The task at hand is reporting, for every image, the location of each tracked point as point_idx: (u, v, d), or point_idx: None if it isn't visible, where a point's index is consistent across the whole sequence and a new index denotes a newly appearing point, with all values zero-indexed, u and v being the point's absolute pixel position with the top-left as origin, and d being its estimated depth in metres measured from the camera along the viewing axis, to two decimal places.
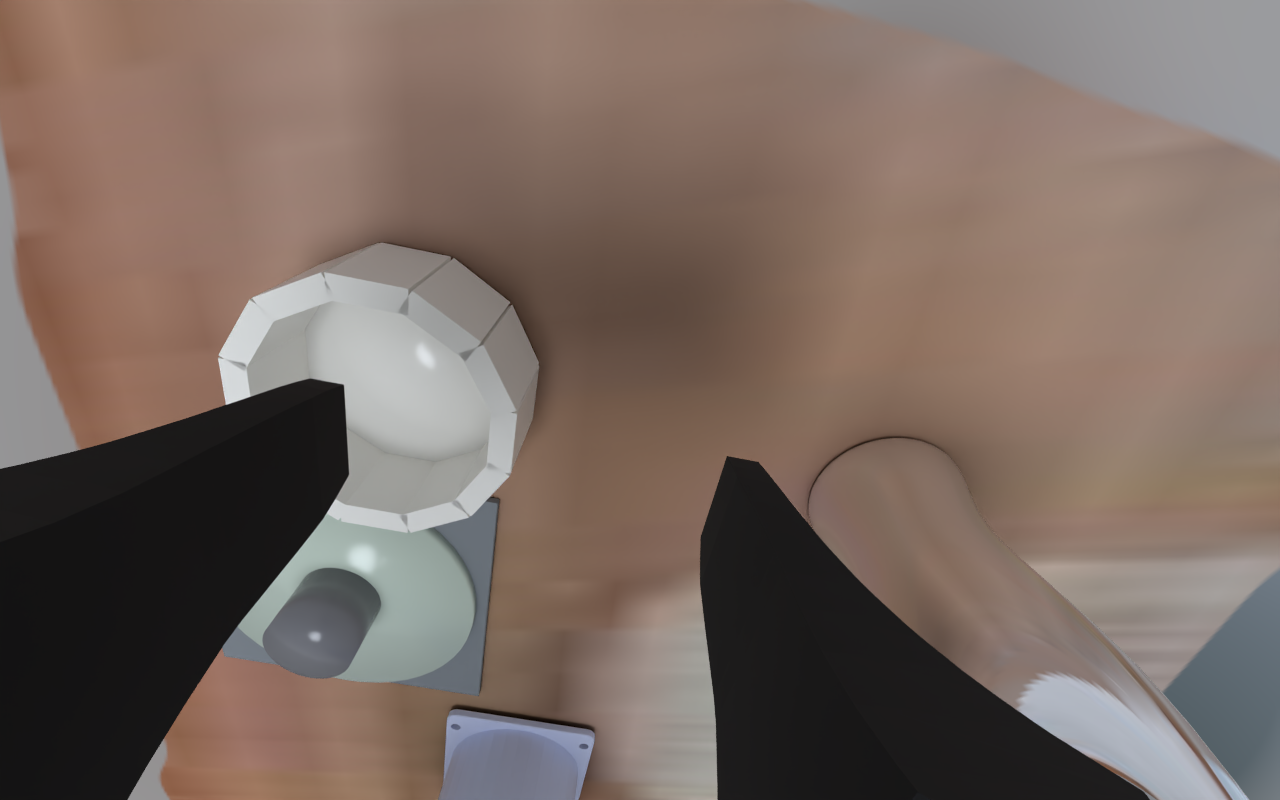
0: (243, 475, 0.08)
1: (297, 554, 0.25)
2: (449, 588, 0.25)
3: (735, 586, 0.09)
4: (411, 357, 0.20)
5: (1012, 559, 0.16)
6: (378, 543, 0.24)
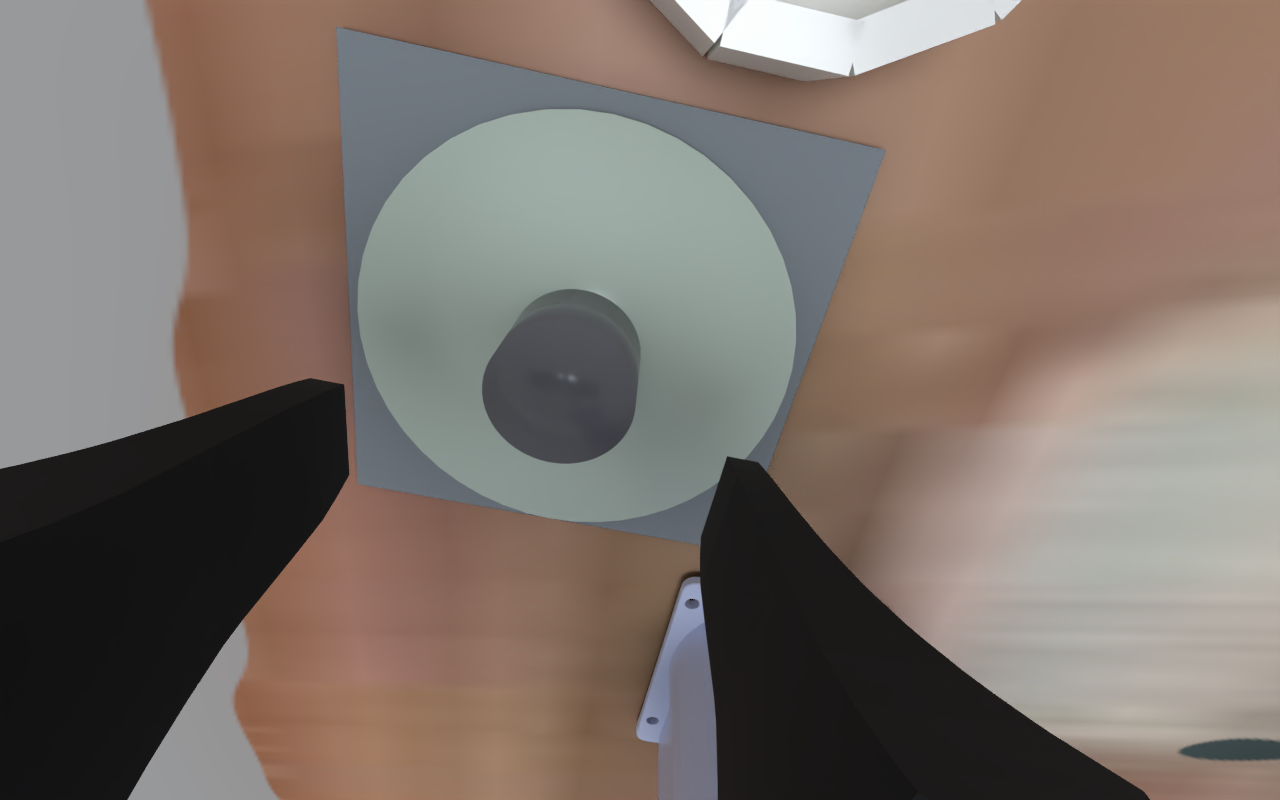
0: (243, 475, 0.08)
1: (520, 260, 0.15)
2: (764, 329, 0.15)
3: (735, 586, 0.09)
4: None
5: None
6: (666, 232, 0.14)
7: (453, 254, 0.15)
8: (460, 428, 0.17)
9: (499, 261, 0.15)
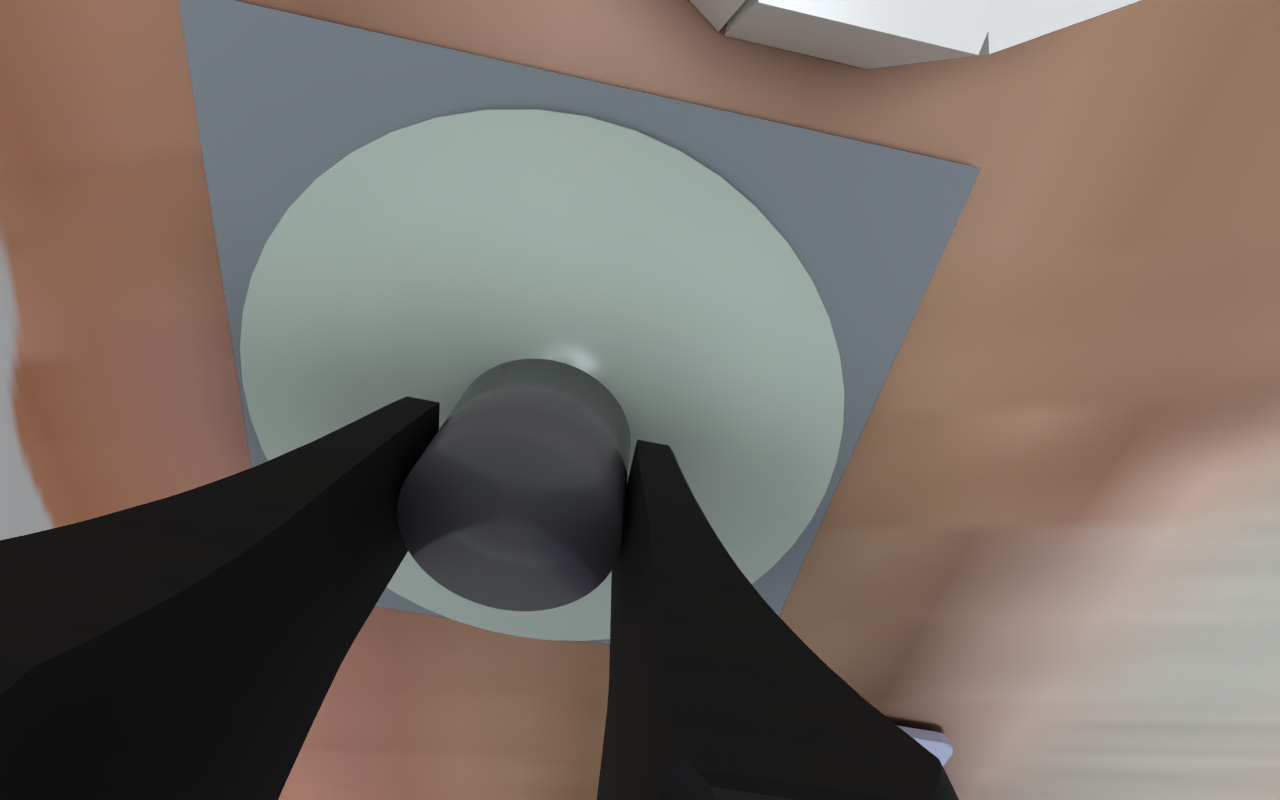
0: (366, 497, 0.08)
1: (461, 321, 0.10)
2: (800, 411, 0.11)
3: (628, 567, 0.09)
4: None
5: None
6: (665, 283, 0.10)
7: (367, 312, 0.10)
8: None
9: (432, 322, 0.10)
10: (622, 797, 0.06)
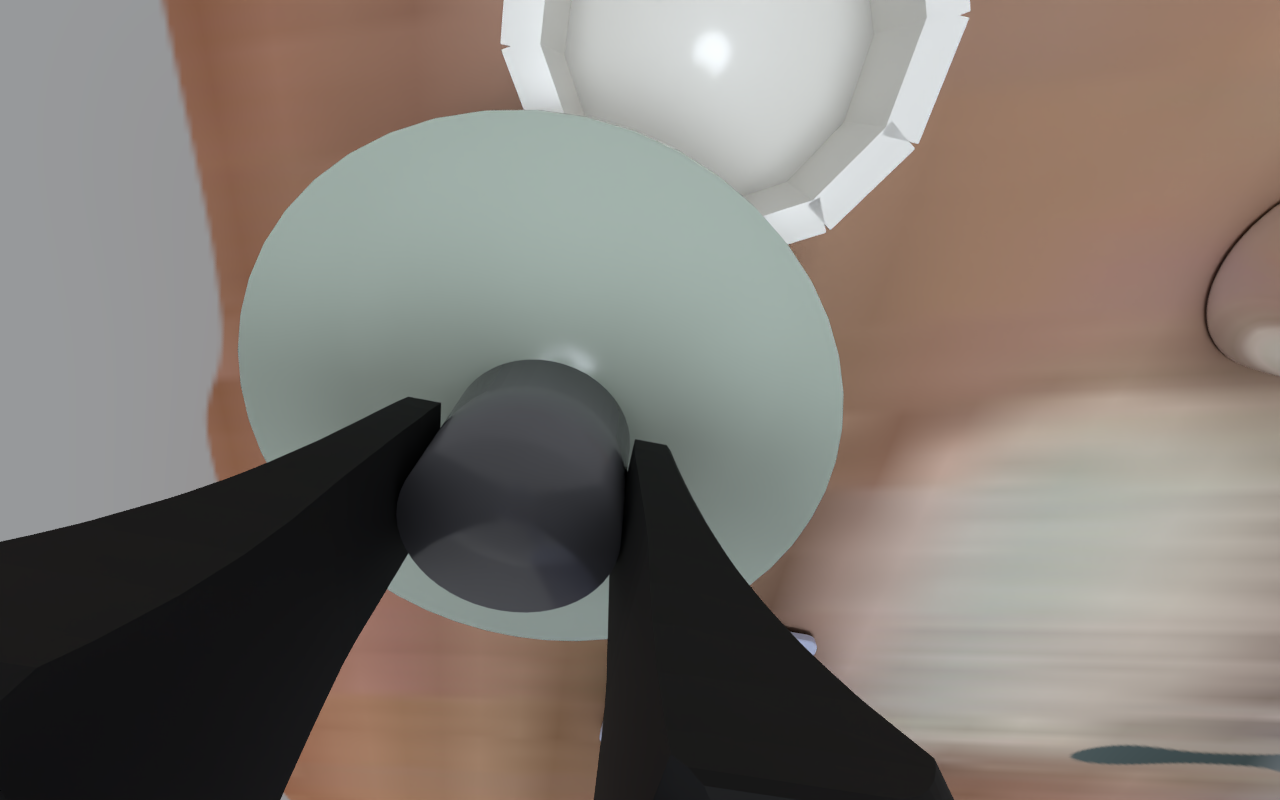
0: (368, 497, 0.08)
1: (460, 322, 0.10)
2: (799, 412, 0.11)
3: (625, 567, 0.09)
4: (725, 12, 0.14)
5: None
6: (664, 284, 0.10)
7: (366, 313, 0.10)
8: None
9: (431, 323, 0.10)
10: (618, 797, 0.06)
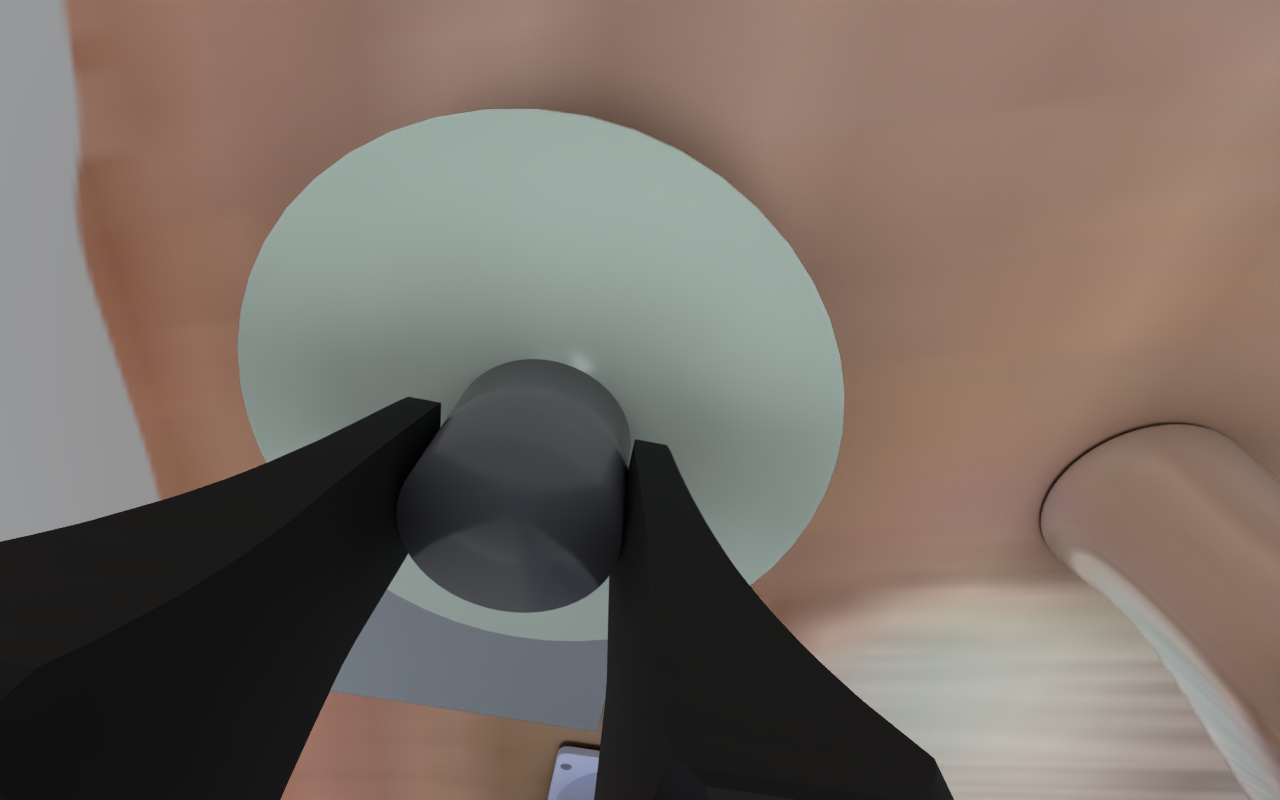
0: (368, 497, 0.08)
1: (460, 321, 0.10)
2: (800, 412, 0.11)
3: (625, 567, 0.09)
4: None
5: None
6: (665, 283, 0.10)
7: (366, 313, 0.10)
8: None
9: (431, 322, 0.10)
10: (618, 796, 0.06)
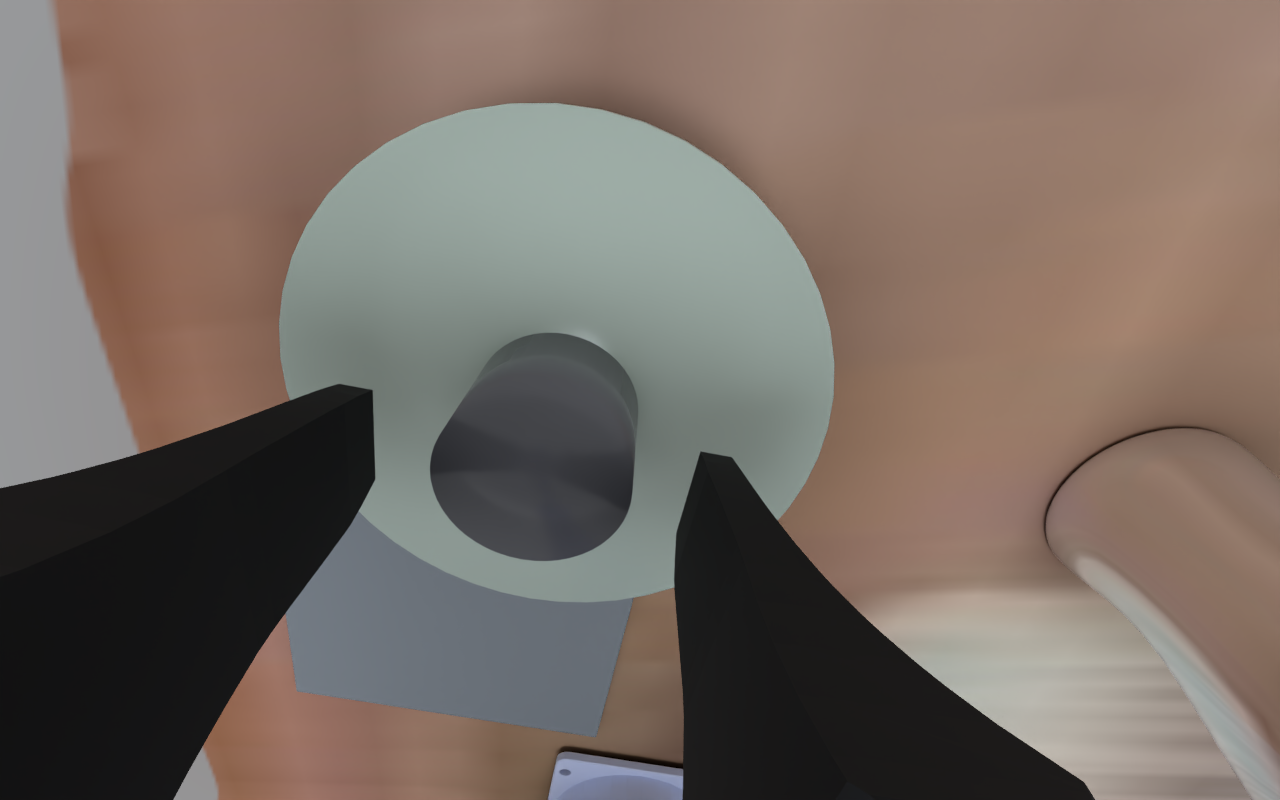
0: (280, 482, 0.08)
1: (483, 298, 0.11)
2: (795, 381, 0.12)
3: (703, 581, 0.09)
4: None
5: None
6: (671, 261, 0.11)
7: (398, 290, 0.11)
8: (417, 497, 0.14)
9: (457, 298, 0.11)
10: None
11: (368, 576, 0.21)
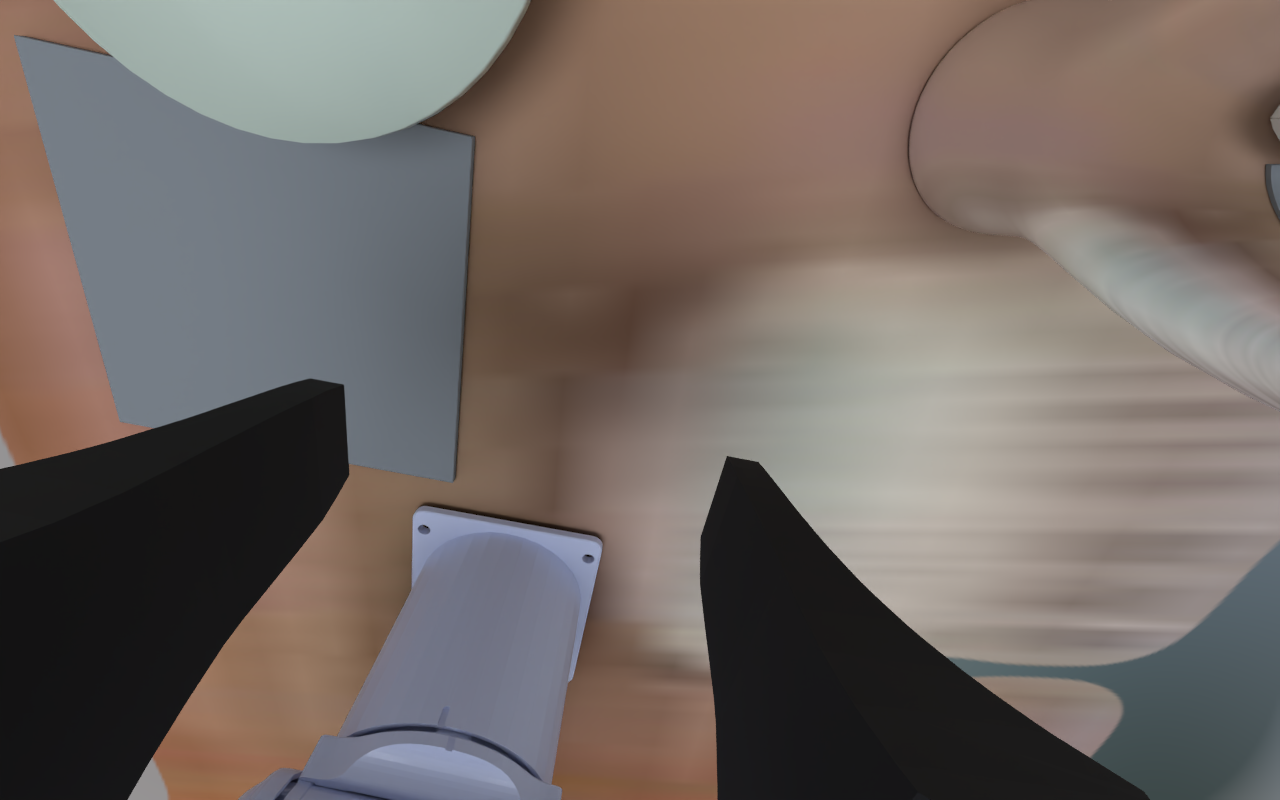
0: (243, 475, 0.08)
1: None
2: None
3: (735, 586, 0.09)
4: None
5: None
6: None
7: None
8: None
9: None
10: None
11: (168, 246, 0.19)
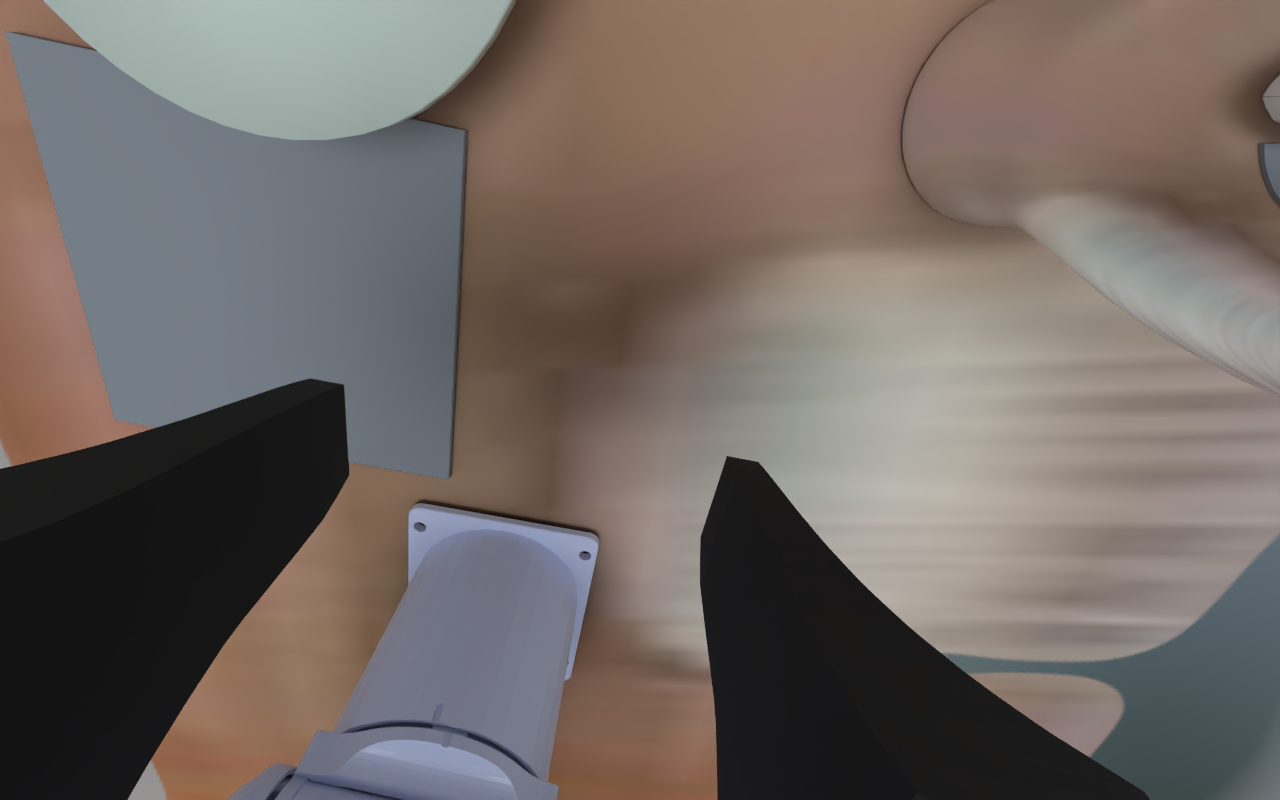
0: (243, 475, 0.08)
1: None
2: None
3: (735, 586, 0.09)
4: None
5: None
6: None
7: None
8: None
9: None
10: None
11: (162, 243, 0.19)
